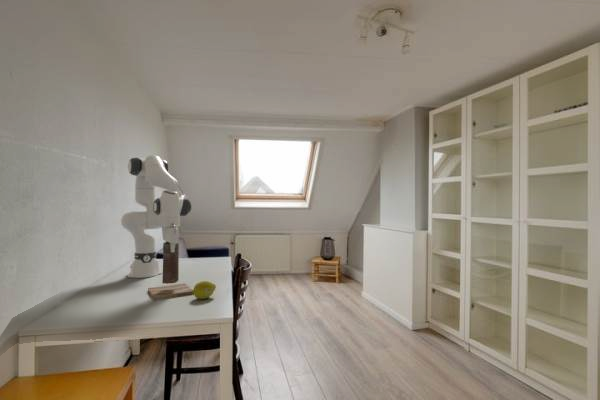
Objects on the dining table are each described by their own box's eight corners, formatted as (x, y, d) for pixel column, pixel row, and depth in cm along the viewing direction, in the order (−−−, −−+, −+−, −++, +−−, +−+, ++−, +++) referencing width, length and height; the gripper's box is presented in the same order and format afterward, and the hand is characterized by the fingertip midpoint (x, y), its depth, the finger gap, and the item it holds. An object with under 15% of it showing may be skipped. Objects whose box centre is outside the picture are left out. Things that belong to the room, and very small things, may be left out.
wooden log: (175, 280, 167) (175, 241, 167) (181, 282, 162) (181, 242, 162) (160, 283, 162) (159, 242, 162) (166, 285, 157) (165, 243, 157)
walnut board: (148, 291, 165) (148, 288, 165) (184, 286, 175) (184, 283, 175) (154, 300, 150) (154, 296, 150) (194, 294, 159) (194, 290, 159)
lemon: (193, 302, 146) (193, 284, 146) (190, 298, 153) (190, 280, 153) (218, 299, 151) (218, 281, 151) (213, 294, 158) (213, 278, 158)
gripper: (182, 224, 155) (182, 253, 155) (172, 221, 172) (172, 248, 172) (168, 224, 152) (168, 254, 152) (160, 222, 169) (160, 249, 169)
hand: (170, 251), depth 162 cm, fingers closed on wooden log, 7 cm apart
